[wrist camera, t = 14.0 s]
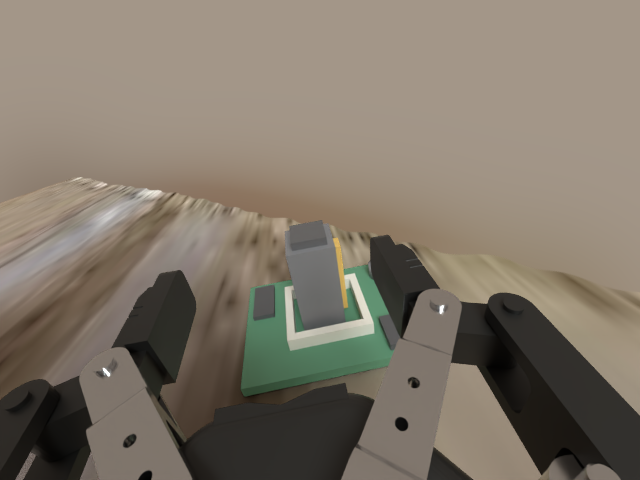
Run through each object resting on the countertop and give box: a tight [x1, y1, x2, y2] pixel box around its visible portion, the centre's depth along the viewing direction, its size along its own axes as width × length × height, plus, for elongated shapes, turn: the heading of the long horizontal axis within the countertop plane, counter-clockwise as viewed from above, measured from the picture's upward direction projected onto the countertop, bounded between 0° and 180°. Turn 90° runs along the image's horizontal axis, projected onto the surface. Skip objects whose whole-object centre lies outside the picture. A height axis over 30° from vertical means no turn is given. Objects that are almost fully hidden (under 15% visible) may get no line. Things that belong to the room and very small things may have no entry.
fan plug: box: [285, 220, 348, 331], centre depth 30 cm, size 5×4×11 cm
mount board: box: [241, 261, 400, 397], centre depth 32 cm, size 18×14×3 cm
